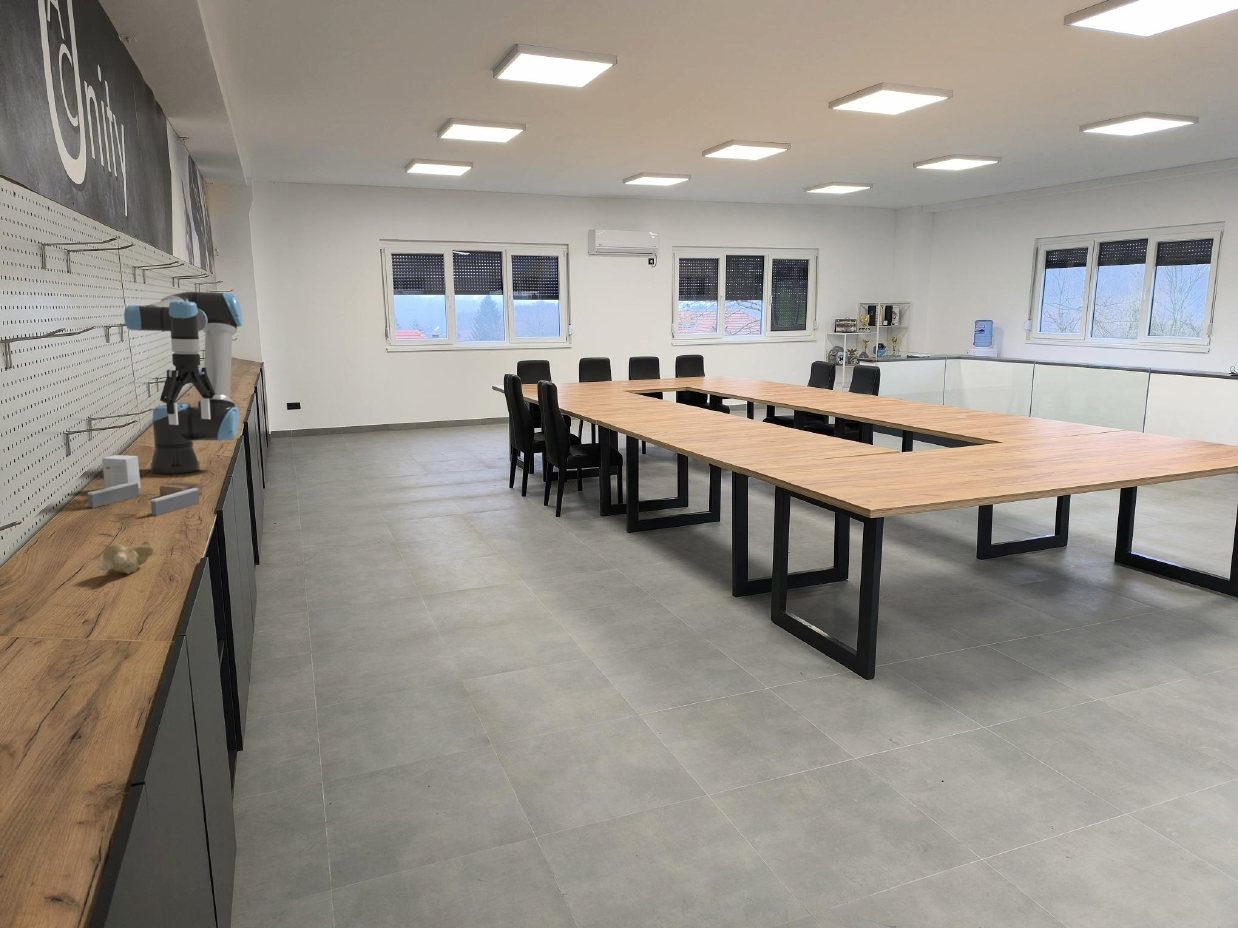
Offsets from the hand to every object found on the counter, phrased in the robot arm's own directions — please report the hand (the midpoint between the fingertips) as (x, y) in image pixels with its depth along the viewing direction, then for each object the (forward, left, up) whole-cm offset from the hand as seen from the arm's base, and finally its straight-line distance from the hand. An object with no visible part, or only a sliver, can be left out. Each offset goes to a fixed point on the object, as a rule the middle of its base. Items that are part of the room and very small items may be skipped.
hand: (190, 421), depth 249 cm
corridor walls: (+21, +1, -22) cm, 30 cm away
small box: (+8, -20, -22) cm, 31 cm away
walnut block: (+7, +2, -22) cm, 24 cm away
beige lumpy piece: (+69, +43, -22) cm, 84 cm away
